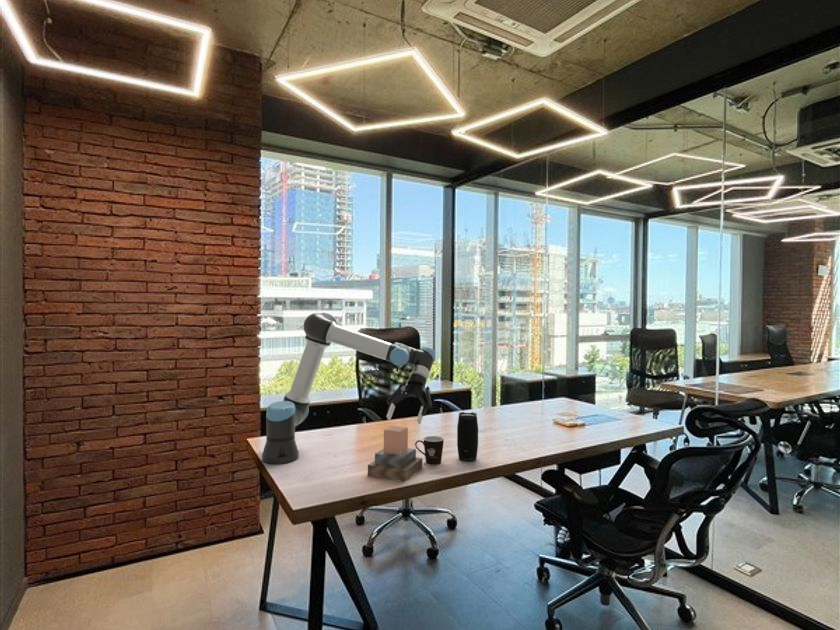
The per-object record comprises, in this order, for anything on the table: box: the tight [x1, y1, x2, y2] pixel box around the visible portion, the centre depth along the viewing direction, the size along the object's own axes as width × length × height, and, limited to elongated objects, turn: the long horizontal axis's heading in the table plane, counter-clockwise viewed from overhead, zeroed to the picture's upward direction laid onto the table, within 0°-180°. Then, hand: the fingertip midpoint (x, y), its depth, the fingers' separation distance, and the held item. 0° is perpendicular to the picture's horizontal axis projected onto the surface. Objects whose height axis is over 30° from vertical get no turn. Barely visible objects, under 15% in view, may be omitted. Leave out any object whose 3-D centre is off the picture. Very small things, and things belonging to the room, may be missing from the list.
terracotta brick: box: [383, 425, 409, 455], centre depth 178 cm, size 7×7×9 cm
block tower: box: [367, 447, 423, 482], centre depth 178 cm, size 16×16×8 cm
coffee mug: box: [414, 435, 445, 466], centre depth 190 cm, size 12×9×10 cm
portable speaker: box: [456, 411, 479, 462], centre depth 194 cm, size 9×9×20 cm
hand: (403, 420), depth 181 cm, fingers open, 13 cm apart
